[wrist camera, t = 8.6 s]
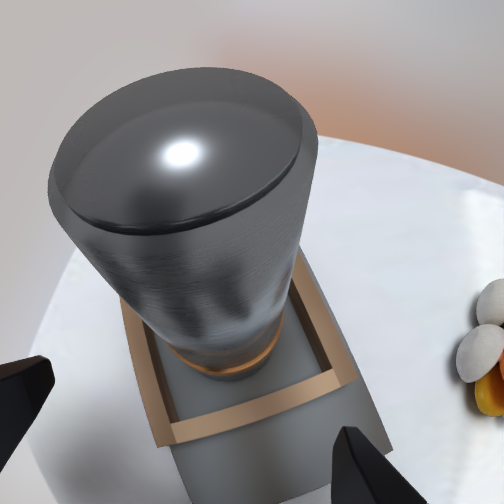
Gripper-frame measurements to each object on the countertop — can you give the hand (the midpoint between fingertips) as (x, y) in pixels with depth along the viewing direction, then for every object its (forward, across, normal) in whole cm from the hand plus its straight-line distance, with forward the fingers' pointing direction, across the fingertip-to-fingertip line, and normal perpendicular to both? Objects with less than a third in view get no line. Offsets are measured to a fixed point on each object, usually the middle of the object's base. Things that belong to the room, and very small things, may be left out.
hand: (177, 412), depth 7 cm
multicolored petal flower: (+9, -19, +3) cm, 21 cm away
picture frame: (+8, -2, +4) cm, 9 cm away
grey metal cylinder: (+9, 0, +2) cm, 9 cm away
